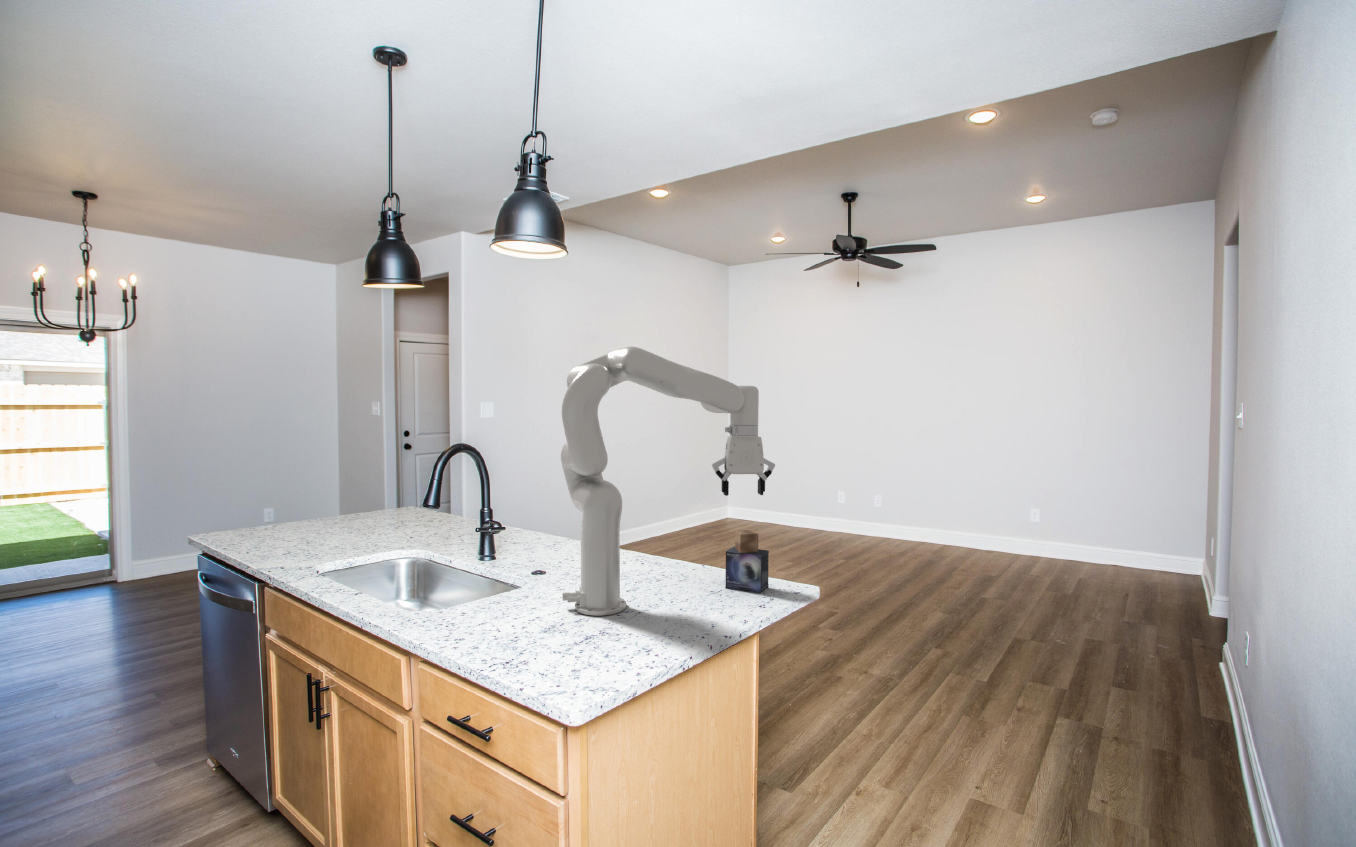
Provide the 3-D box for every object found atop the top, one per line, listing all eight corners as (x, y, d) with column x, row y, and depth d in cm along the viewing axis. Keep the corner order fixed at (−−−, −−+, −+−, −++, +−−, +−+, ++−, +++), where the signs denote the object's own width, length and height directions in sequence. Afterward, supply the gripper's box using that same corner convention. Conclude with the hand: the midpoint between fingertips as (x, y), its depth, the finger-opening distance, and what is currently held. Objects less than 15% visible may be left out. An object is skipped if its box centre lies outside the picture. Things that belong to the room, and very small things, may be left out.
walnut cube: (740, 552, 175) (740, 534, 174) (735, 548, 180) (735, 530, 179) (758, 552, 176) (758, 533, 175) (752, 547, 180) (753, 529, 180)
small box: (724, 588, 178) (724, 550, 177) (733, 582, 183) (733, 545, 183) (760, 594, 173) (761, 555, 172) (769, 587, 178) (769, 549, 178)
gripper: (715, 432, 171) (714, 497, 172) (779, 432, 174) (778, 496, 175) (709, 430, 179) (709, 493, 179) (770, 430, 181) (769, 492, 182)
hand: (743, 494), depth 177 cm, fingers open, 9 cm apart
